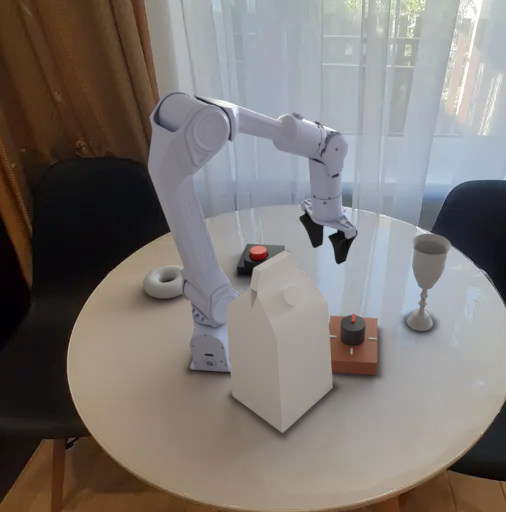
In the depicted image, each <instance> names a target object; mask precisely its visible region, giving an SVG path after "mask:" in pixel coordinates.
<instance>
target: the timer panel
mask: <svg viewBox="0 0 506 512" xmlns="http://www.w3.org/2000/svg"><path fill="white" fill-rule="evenodd" d="M346 316H347V315H346ZM346 316H343V315H329V332H330V350H331V367H332V374H333V373H334V374H350V375H366V376H367V375H368V376H377V372H378V343H379V342H378V338H379V337H378V329H379V328H378V327H379V325H378V320H379V319H378V317H364V316H363V317H362V316H361V317H362V318H363V319H364V320H365V322H366V326H365V340H364V342H363V343H361V344H360V345H357V346H349V345H346V344H344V343H343V342H342V341H341V338H340V331H341V320H342V319H343V318H344V317H346Z"/></svg>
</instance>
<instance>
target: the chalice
mask: <svg viewBox="0 0 506 512" xmlns="http://www.w3.org/2000/svg"><path fill="white" fill-rule="evenodd" d="M411 244H412V247H413V254H412V261H411V268H412V272H413V276H414V278H415V281H416V283H417V285H418V287H419V288H420V289H422V290H421V292H420V293H419V297H420V300H418V302H417V304H418V305H419V308H416V309H415V310H413V311H412V312H411V313H410V315H409V316H408V317H407V320H406V324H407V326H408V327H410V328H411V329H412V330H415V331H419V332H424V331H429V330H430V329H432V328H433V325H434V324H433V320H432V317H431V314H430V312H429V311H428V310H426V309H425V308H426V306H427V305H428V301H426V300H427V298H428V297H429V294H428V290H431V289H432V288H433V287H434V286H435V285H436V283H437V282H438V281H439V280H440V279H441V276H442V275H443V273H444V271H445V268H446V262H447V255H448V253H449V252H450V250H451V248H452V244H451V241H450V240H449V239H448V238H447V237H445V236H442V235H440V234H437V233H422V234H418V235H416V236H415V237H414V238H413V239H412V241H411Z"/></svg>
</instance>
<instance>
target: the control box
mask: <svg viewBox="0 0 506 512" xmlns="http://www.w3.org/2000/svg"><path fill="white" fill-rule="evenodd" d="M254 246H264V247H265V248H266V251H267V257H266V258H265V259H262V260H253V259H251V256H250V249H251V248H252V247H254ZM285 246H286V245H282V244H281V245H280V244H260V243H258V244H257V243H246V245H245V247H244V249H243V252H242V254H241V257H240V259H239V261H238V263H237V265H236V271H237V276H248V277H249V276H250V277H252V274H253V269H254V267H256V266H258V265H260V264H261V263H263V262H265V261H267V260H268V259H270V258H272V257H274V256H275V255H277V254H279V253H281V252H282V251H284V250H285V251H286V248H285Z"/></svg>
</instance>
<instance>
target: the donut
mask: <svg viewBox="0 0 506 512" xmlns="http://www.w3.org/2000/svg"><path fill="white" fill-rule="evenodd" d="M183 268H184V266H181V265H176V264H167V265H161V266H158V267H155V268H154V269H152V270H150V271H149V272H148V273H147V274H146V275H145V277H144V278H143V281H142V285H143V290H144V291H145V293H146V294H147V295H148V296H150V297H152V298H155V299H159V300H165V299H167V300H168V299H172V298H176V297H179V296H181V295H183V294H182V291H181V285H182V276H181V273H180V271H181V270H182V269H183Z"/></svg>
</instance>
